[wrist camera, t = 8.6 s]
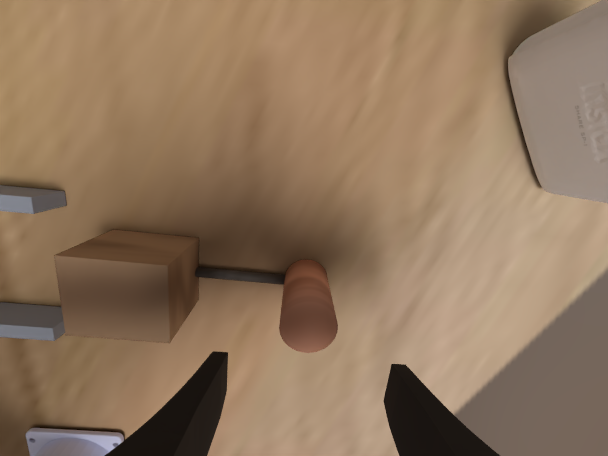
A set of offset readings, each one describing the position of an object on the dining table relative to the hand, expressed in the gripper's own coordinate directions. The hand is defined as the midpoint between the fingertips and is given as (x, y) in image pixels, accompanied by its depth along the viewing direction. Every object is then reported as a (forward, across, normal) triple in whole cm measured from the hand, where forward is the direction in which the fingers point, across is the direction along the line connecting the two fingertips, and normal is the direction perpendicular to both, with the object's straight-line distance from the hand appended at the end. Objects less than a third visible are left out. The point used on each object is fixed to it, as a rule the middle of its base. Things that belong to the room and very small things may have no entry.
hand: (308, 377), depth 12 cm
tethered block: (+9, +6, 0) cm, 11 cm away
